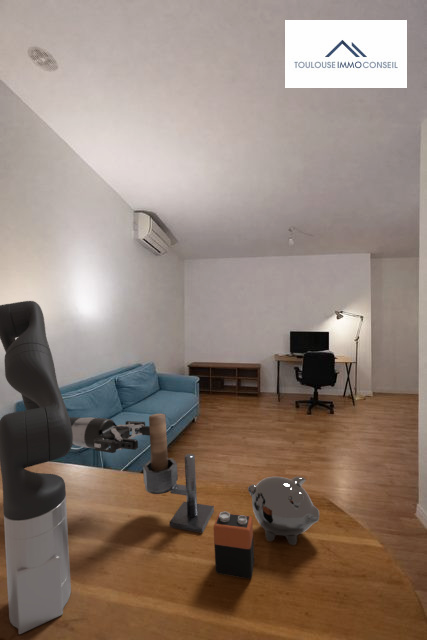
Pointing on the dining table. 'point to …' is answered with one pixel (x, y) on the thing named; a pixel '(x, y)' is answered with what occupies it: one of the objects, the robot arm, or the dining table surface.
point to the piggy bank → (283, 507)
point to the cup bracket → (166, 480)
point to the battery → (234, 545)
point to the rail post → (158, 442)
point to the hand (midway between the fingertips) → (146, 437)
